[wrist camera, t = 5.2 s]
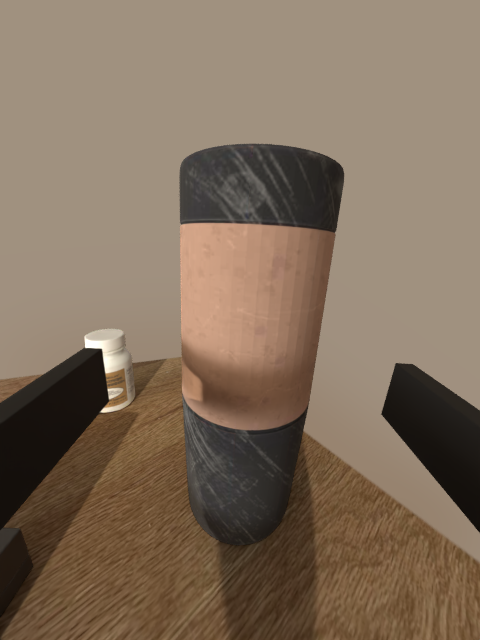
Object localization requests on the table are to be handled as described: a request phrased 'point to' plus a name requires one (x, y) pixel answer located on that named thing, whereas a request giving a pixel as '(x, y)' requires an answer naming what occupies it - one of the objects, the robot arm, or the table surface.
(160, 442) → the table surface
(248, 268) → the travel mug
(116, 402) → the pill bottle
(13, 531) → the dock pad
